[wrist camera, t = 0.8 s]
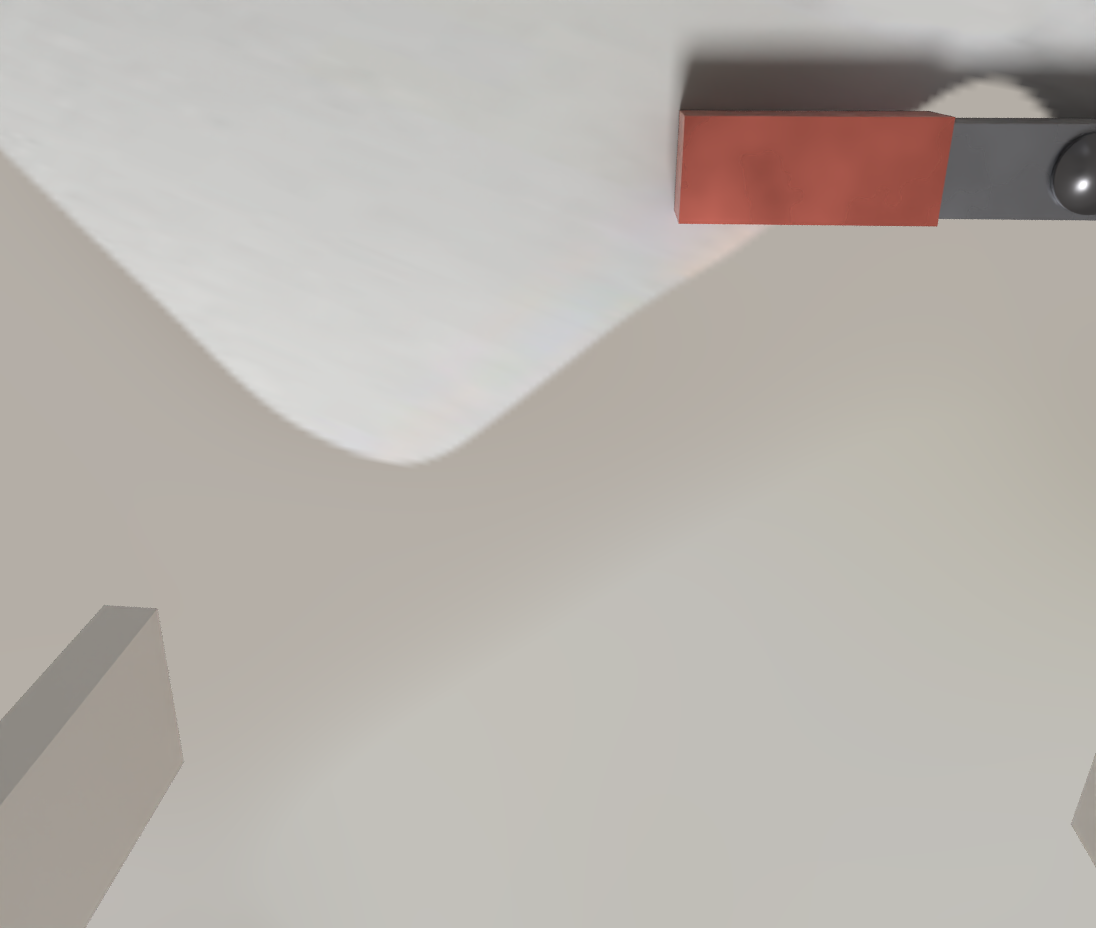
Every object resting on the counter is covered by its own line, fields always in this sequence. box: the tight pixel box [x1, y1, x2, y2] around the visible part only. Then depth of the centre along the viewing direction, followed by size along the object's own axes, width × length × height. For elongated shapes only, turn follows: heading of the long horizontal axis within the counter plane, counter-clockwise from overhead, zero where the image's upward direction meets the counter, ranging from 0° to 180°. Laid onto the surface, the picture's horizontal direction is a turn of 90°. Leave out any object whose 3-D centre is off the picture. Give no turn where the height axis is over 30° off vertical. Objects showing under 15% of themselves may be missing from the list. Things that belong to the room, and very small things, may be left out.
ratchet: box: [674, 110, 1096, 226], centre depth 28 cm, size 6×20×6 cm, turn 90°
